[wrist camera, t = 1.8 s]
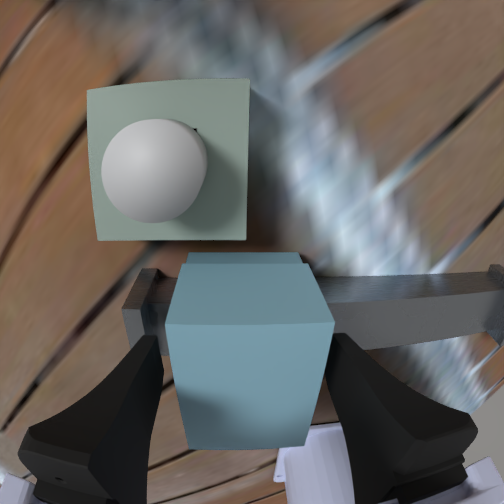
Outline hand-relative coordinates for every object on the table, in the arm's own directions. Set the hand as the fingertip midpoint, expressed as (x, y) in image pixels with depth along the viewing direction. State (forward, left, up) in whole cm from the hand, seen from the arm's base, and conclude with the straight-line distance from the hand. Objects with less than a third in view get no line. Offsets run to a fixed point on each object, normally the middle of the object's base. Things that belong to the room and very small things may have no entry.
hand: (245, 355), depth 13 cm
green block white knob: (+7, +3, -4) cm, 9 cm away
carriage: (0, 0, -4) cm, 4 cm away
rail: (0, -6, -4) cm, 7 cm away
